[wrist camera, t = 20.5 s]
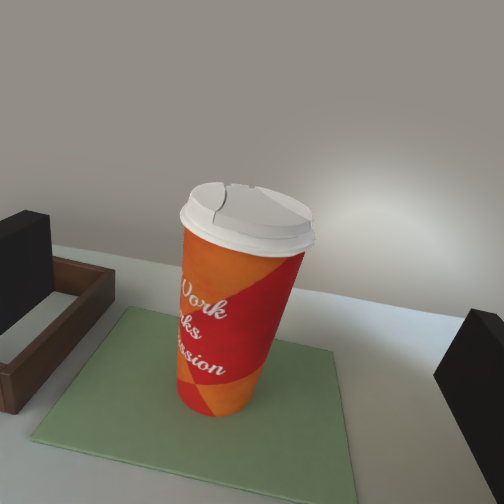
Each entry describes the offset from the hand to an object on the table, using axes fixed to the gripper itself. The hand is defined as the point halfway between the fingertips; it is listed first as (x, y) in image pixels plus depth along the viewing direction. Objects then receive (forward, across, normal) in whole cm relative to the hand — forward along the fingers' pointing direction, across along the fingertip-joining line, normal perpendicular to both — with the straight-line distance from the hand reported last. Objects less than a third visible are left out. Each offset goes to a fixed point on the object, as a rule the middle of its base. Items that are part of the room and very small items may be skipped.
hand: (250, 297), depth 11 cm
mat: (+10, -1, -15) cm, 18 cm away
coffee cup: (+10, -1, -15) cm, 18 cm away
